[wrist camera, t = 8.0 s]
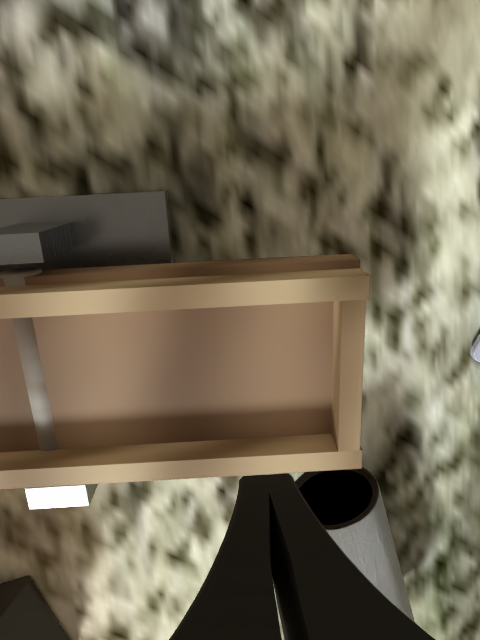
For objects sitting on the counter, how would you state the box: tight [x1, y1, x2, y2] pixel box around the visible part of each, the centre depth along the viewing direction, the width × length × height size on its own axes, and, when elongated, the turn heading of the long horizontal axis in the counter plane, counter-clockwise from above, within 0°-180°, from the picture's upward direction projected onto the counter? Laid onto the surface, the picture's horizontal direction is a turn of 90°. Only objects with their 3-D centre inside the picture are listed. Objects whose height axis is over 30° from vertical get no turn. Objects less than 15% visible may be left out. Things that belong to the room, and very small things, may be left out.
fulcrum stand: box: [0, 190, 175, 509], centre depth 19 cm, size 10×13×5 cm
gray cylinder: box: [295, 467, 414, 622], centre depth 23 cm, size 4×4×10 cm
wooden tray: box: [0, 254, 370, 489], centre depth 17 cm, size 24×8×2 cm, turn 93°
